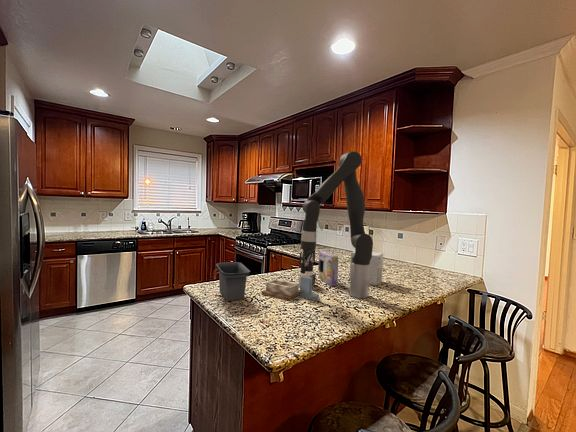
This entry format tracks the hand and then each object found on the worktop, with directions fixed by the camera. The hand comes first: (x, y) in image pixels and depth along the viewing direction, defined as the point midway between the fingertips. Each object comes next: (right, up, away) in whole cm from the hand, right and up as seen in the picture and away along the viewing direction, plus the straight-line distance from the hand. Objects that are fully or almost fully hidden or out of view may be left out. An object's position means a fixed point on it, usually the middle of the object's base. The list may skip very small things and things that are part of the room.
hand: (306, 271), depth 149 cm
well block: (-12, -12, +4) cm, 18 cm away
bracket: (+1, -13, 0) cm, 13 cm away
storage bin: (-38, -11, -3) cm, 40 cm away
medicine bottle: (+2, -12, +21) cm, 24 cm away
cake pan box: (+14, -12, +30) cm, 36 cm away
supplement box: (+40, -13, +37) cm, 56 cm away
